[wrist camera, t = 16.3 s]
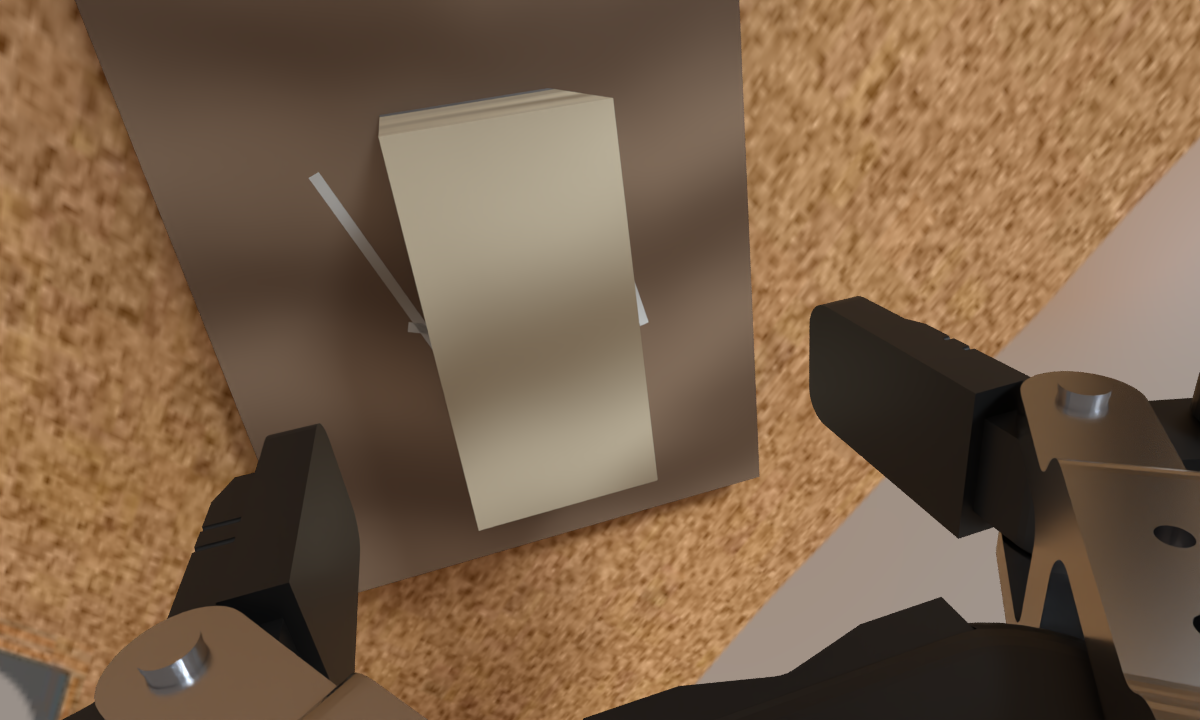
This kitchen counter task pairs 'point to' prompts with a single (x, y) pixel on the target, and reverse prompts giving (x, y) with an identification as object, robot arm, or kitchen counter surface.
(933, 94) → the kitchen counter surface
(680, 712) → the robot arm
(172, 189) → the walnut board
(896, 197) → the kitchen counter surface
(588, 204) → the block
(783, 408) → the kitchen counter surface
